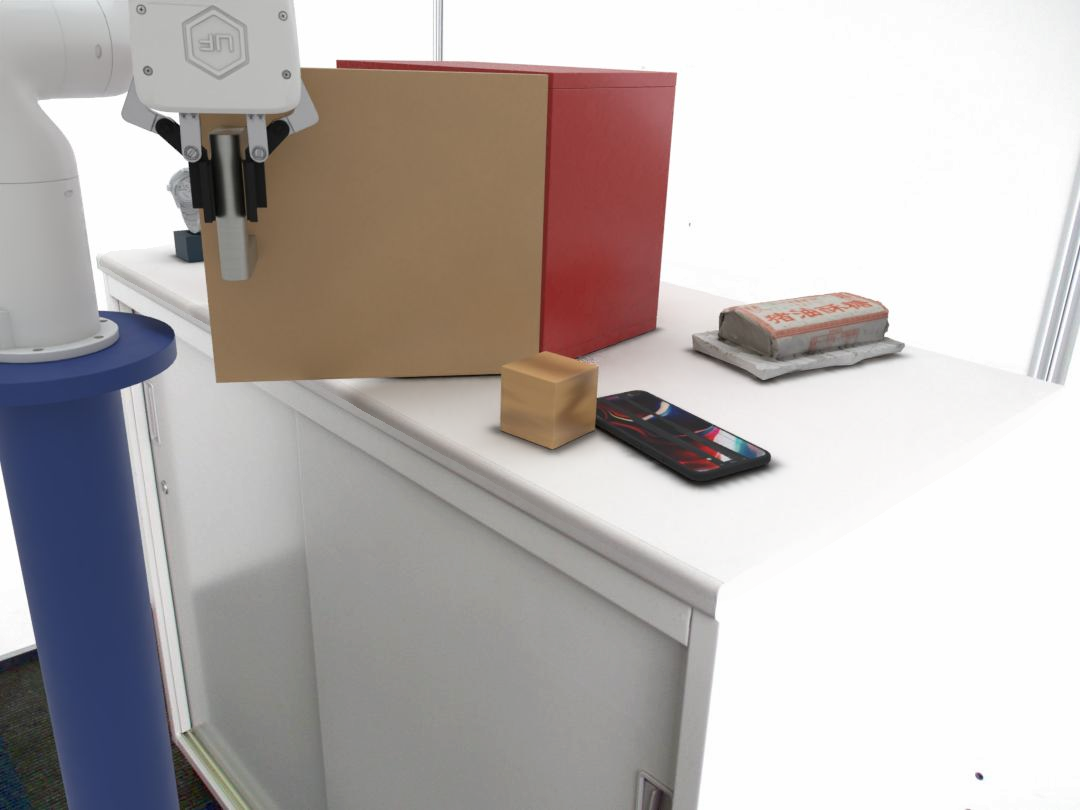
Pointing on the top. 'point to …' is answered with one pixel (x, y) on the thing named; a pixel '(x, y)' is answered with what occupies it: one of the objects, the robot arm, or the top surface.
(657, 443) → the smartphone
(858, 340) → the packaged product
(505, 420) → the oak block
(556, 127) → the cabinet
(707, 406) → the top surface
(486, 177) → the cabinet door
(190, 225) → the watch
